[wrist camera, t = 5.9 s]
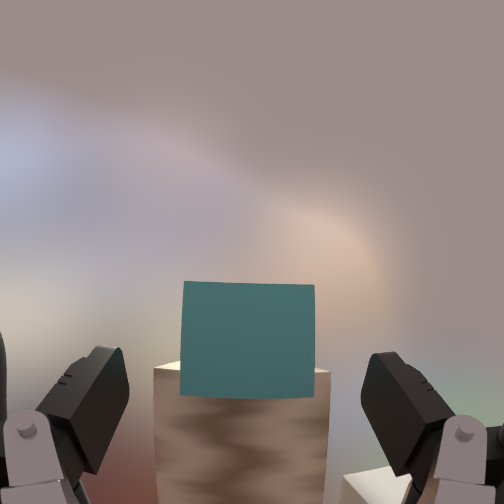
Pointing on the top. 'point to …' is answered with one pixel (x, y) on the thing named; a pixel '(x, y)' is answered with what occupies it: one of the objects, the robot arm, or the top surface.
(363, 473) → the white tall block
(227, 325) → the teal long bar
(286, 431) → the stand
